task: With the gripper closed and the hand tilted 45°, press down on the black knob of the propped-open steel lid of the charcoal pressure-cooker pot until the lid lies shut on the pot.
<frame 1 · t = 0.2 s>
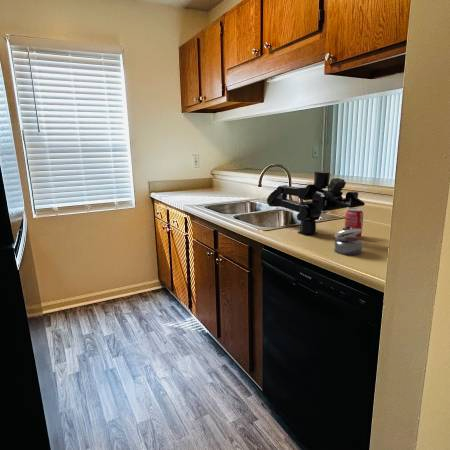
hand: (355, 205, 126), 17 cm above the worktop, tool horizontal, fingers open, 9 cm apart
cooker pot: (347, 251, 124), on the worktop
cooker lid: (347, 231, 124), point 7 cm above the worktop, hinge at 28.0°
soda can: (352, 237, 145), on the worktop
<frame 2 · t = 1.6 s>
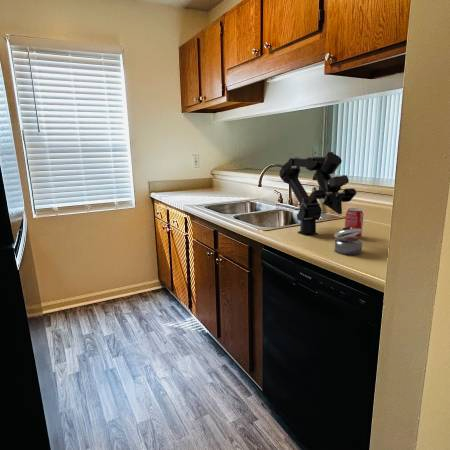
hand: (340, 213, 127), 13 cm above the worktop, tool tilted 45°, fingers closed
nothing on the worktop moved.
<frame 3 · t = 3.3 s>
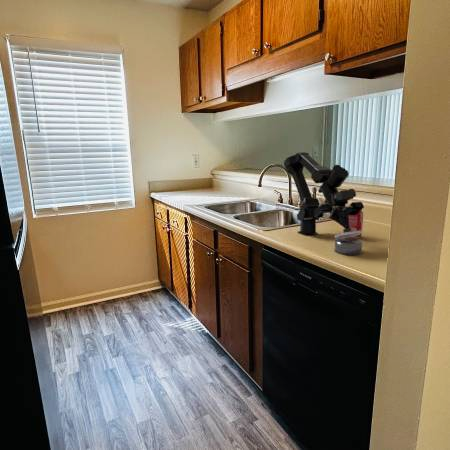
hand: (347, 228, 123), 9 cm above the worktop, tool tilted 45°, fingers closed, pressing on cooker lid
cooker lid: (347, 232, 124), point 7 cm above the worktop, hinge at 22.8°, touching gripper
everything else where it was.
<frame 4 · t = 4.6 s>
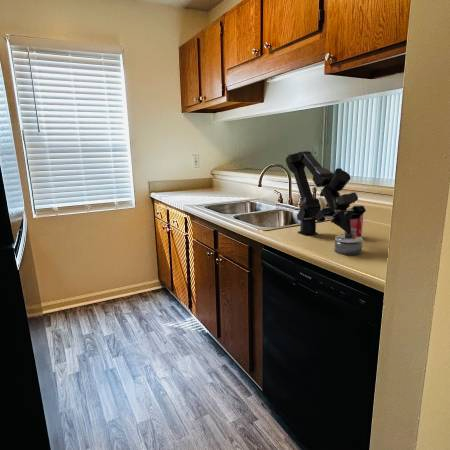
hand: (349, 232, 123), 7 cm above the worktop, tool tilted 45°, fingers closed, pressing on cooker lid
cooker lid: (348, 236, 123), point 6 cm above the worktop, hinge at 3.8°, touching gripper
everything else where it was.
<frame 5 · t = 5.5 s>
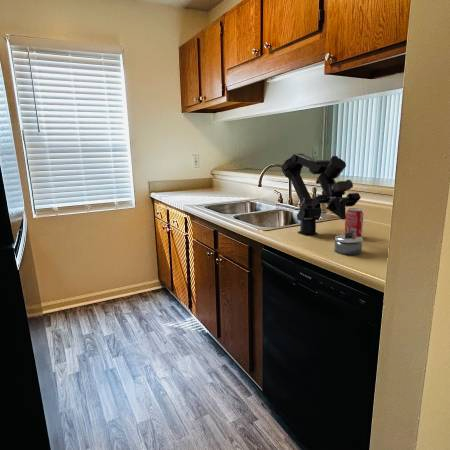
hand: (344, 219, 125), 12 cm above the worktop, tool tilted 45°, fingers closed
cooker lid: (348, 236, 123), point 6 cm above the worktop, hinge at 3.8°
everything else where it was.
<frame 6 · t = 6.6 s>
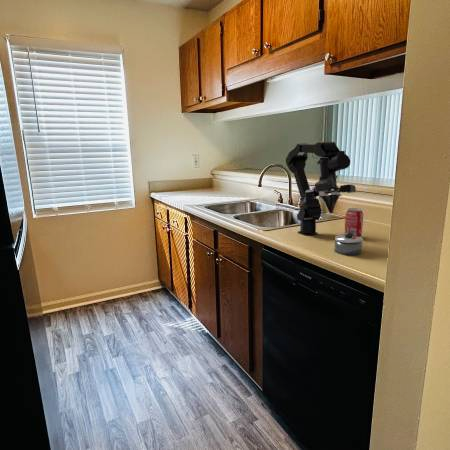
hand: (331, 213, 133), 12 cm above the worktop, tool pointing down, fingers closed
nothing on the worktop moved.
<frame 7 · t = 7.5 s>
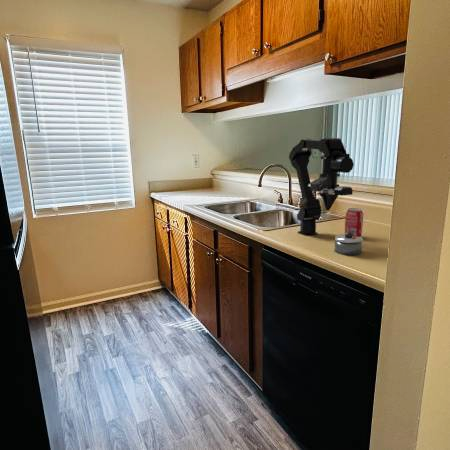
hand: (327, 210, 135), 13 cm above the worktop, tool pointing down, fingers closed
nothing on the worktop moved.
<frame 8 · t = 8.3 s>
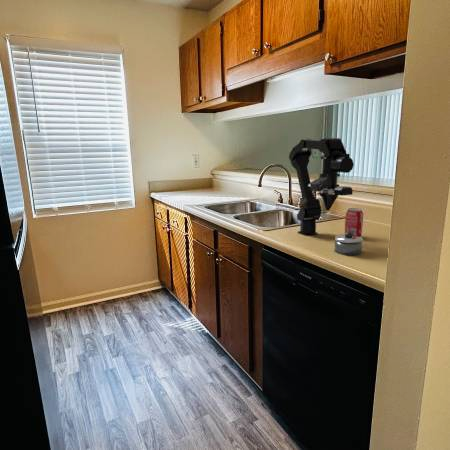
hand: (327, 210, 135), 13 cm above the worktop, tool pointing down, fingers closed
nothing on the worktop moved.
at the end: cooker lid at +4° (first picture: +28°); soda can moved 0.2 cm from its start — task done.
